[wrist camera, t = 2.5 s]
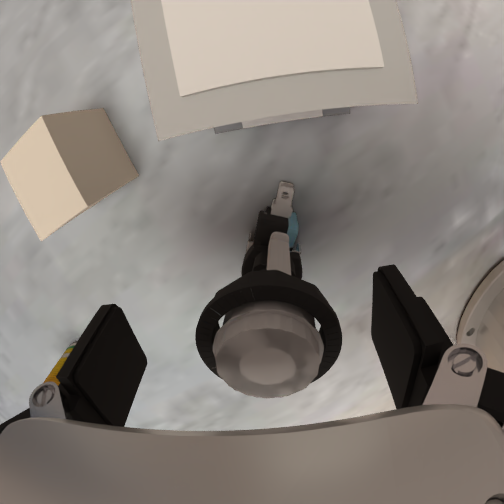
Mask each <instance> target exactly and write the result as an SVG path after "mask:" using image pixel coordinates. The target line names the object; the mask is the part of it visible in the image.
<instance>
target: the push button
mask: <svg viewBox="0 0 504 504" xmlns="http://www.w3.org/2000/svg"><path fill="white" fill-rule="evenodd" d="M293 187H294V185H293V184H291V183H287V182H282V181H281V182H280V183H279V188H278V192H277V196H276V199H273V202H272V206H271V207H267V210H266V212H264V211H260V212H259V217H258V222H257V227H256V232H255V237H254V242H251V241H250V237H251V232H250V236H249V240H248V245H247V250H246V254H245V257H244V261H243V266H242V277H240V278H239V279H237V280H235V281H234V282H232V283H231V284H229V285H227V286H226V287H224V288H223V289H221V290H219V291H218V292H217V293H216V295H215V297H214V298H213V299H212V300H211V301H210V302H209V303H208V305H207V306H206V307H205V309H204V310H203V312H202V314H201V316H200V319H199V322H198V325H197V328H196V346H197V349H198V352H199V354H200V356H201V358H202V360H203V361H204V363H205V364H206V366H207V367H208V368H209V369H210V370H211V371H212V372H213V373H214V374H216V375H217V376H218V377H220V378H221V379H223V380H224V381H225V382H226V383H227V384H228V386H230V387H232V388H233V389H234V390H237V391H240V392H242V393H244V394H246V395H249V396H254V397H262V398H275V397H284V396H289V395H291V394H294V393H296V392H298V391H301V390H303V389H304V388H306V387H307V386H308V385H309V384H310V383H312V382H314V381H316V380H317V379H319V378H320V377H321V376H323V375H324V374H325V373H326V372H327V371H328V370H329V369H330V368H331V367H332V366H333V364H334V363H335V361H336V360H337V358H338V356H339V353H340V350H341V346H342V332H341V328H340V324H339V320H338V318H337V315H336V313H335V312H334V310H333V309H332V307H331V306H330V305H329V303H328V301H327V300H326V299H325V297H324V296H323V295H322V293H321V292H320V291H319V289H318V288H317V287H316V286H315V285H314V284H311V283H309V282H306V281H304V280H301V278H302V265H301V258H300V254H301V249H300V243H299V242H298V244H297V248H296V251H294V250H293V247H294V243H295V240H296V238H297V234H298V230H299V224H298V222H297V216H296V213H294V212H292V210H293V208H291V206H292V199H293V194H294V188H293ZM284 192H287V193H288V194H286V195H284V194H282V193H284ZM223 315H225V318H224V322H223V326H222V327H221V328H220V327H219V323H218V321H219V320H220V318H221V317H222V316H223ZM314 317H315V318H316V319H317V321H318V322H319V323H320V325H321V328H320V330H319V332H318V331H317V329H316V327H315V320H314Z"/></svg>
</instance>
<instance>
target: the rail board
mask: <svg viewBox="0 0 504 504" xmlns="http://www.w3.org/2000/svg"><path fill="white" fill-rule="evenodd" d="M131 5H132V11H133V18H134V24H135V30H136V35H137V41H138V47H139V52H140V57H141V63H142V68H143V73H144V78H145V83H146V88H147V92H148V97H149V102H150V106H151V111H152V115H153V120H154V124H155V129H156V133H157V137H158V141H161V140H165V139H169V138H173V137H176V136H180V135H184V134H188V133H192V132H196V131H201V130H205V129H209V128H214V130H215V134H218V133H222V132H227V131H232V130H237V129H242V128H243V129H244V128H249V127H255V126H260V125H266V124H272V123H279V122H285V121H292V120H299V119H307V118H315V117H323V116H330V115H340V114H350V108H349V107H354V106H368V105H387V104H418V101H417V94H416V87H415V81H414V75H413V69H412V64H411V59H410V54H409V49H408V45H407V40H406V36H405V32H404V28H403V24H402V20H401V16H400V12H399V9H398V5H397V2H396V0H131Z"/></svg>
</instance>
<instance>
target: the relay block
mask: <svg viewBox="0 0 504 504" xmlns="http://www.w3.org/2000/svg"><path fill="white" fill-rule="evenodd" d="M1 165H2V167H3V169H4V171H5V174H6V176H7V178H8V180H9V182H10V184H11V186H12V188H13V190H14V192H15V194H16V196H17V198H18V200H19V202H20V204H21V206H22V208H23V210H24V212H25V214H26V215H27V217H28V219H29V221H30V223H31V224H32V226H33V228H34V230H35V232H36V233H37V235H38V237H39V238H40V240H41V241H43V240H44V239H45V238H47V237H48V236H49V235H51V234H52V233H54V232H55V231H56V230H58V229H59V228H61V227H62V226H64V225H65V224H66V223H68V222H69V221H71V220H72V219H74V218H75V217H77V216H78V215H80V214H81V213H83V212H84V211H86V210H87V209H89V208H90V207H92V206H94V205H95V204H97V203H98V202H99V201H101V200H102V199H104V198H105V197H107V196H108V195H110V194H111V193H113V192H115V191H116V190H118V189H119V188H121V187H122V186H124V185H125V184H127V183H129V182H130V181H132V180H133V179H135V178H137V177H138V176H139V175H138V173H137V171H136V169H135V167H134V165H133V164H132V162H131V160H130V158H129V156H128V154H127V152H126V151H125V149H124V147H123V145H122V143H121V141H120V139H119V137H118V135H117V134H116V132H115V130H114V128H113V126H112V124H111V122H110V120H109V118H108V116H107V114H106V112H105V110H104V108H101V109H90V110H80V111H72V112H64V113H56V114H50V115H43V116H41V117H40V118H39V119H38V120H37V121H36V122H35V123H34V124H33V125H32V126H31V127H30V128H29V129H28V130H27V132H26V133H25V134H24V135H23V136H22V137H21V138H20V139H19V140H18V142H17V143H16V144H15V145H14V146H13V147H12V149H11V150H10V151H9V152H8V153H7V155H6V156H5V157H4V158H3V159H2V161H1Z"/></svg>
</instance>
